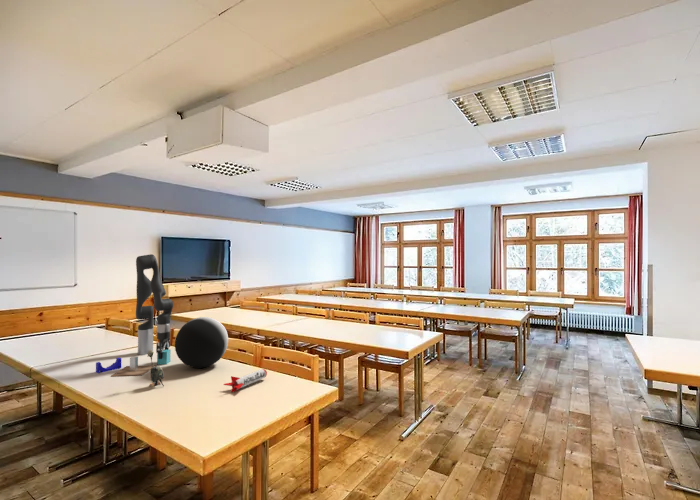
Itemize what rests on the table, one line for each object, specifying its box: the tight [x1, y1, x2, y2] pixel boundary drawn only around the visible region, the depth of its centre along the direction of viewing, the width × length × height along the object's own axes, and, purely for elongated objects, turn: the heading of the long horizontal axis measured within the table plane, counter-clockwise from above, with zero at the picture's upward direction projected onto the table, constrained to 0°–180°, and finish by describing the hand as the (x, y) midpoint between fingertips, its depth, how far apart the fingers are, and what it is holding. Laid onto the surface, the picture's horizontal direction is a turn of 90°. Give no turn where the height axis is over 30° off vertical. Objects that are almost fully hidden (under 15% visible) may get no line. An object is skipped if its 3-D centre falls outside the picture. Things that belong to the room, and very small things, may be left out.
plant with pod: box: [147, 350, 165, 387], centre depth 177 cm, size 8×11×20 cm
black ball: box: [174, 316, 229, 369], centre depth 211 cm, size 30×30×30 cm
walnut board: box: [110, 364, 156, 378], centre depth 200 cm, size 16×16×1 cm
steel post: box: [129, 355, 139, 371], centre depth 200 cm, size 3×3×8 cm
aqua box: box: [156, 349, 172, 366], centre depth 217 cm, size 6×6×8 cm
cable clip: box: [95, 357, 122, 374], centre depth 204 cm, size 12×4×6 cm, turn 145°
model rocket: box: [223, 368, 268, 393], centre depth 177 cm, size 11×23×10 cm, turn 149°
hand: (163, 356), depth 217 cm, fingers open, 8 cm apart
